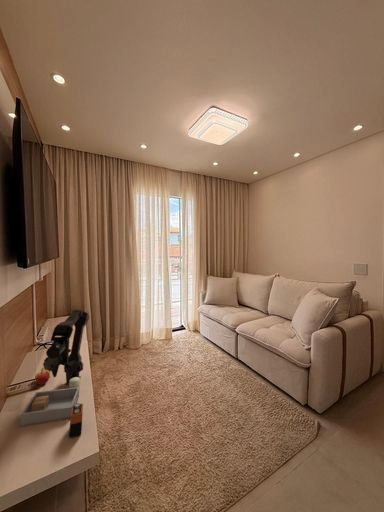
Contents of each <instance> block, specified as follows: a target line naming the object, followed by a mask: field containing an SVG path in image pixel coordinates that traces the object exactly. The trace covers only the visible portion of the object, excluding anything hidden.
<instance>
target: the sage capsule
mask: <svg viewBox="0 0 384 512" xmlns="http://www.w3.org/2000/svg"><path fill="white" fill-rule="evenodd" d="M80 385H81V378H79V377H74V378H71V379H70V381H69V384H68V388H76V387H81V386H80Z"/></svg>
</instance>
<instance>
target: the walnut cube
mask: <svg viewBox="0 0 384 512" xmlns="http://www.w3.org/2000/svg"><path fill="white" fill-rule="evenodd" d="M48 402H49V396H41V397H37V398H36V399H35V401H34V402H33V404H32V412H34V411H41V410H46V409H47V407H48Z"/></svg>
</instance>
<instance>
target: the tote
mask: <svg viewBox="0 0 384 512" xmlns="http://www.w3.org/2000/svg"><path fill="white" fill-rule="evenodd" d="M80 387H81V386H80ZM80 387H76V388H69V387H68V388H62V389H60V388H59V389H54V390H52V389H51V390H42V391H36V392H35V393H34V395H33V396H32V397H31V399H30V401H29V402H28V403H27V405H26V406H25V408H24V409H23V411H22V412H21V413H20V418H19V427H25V426H32V425H38V424H42V423H49V422H50V423H51V422H57V421H63V420H64V421H65V420H70V416H71V409H72V406H73V405H75V404H76V403H78V401H79V397H80ZM41 396H49V402H48V407H47V409H46V410H41V411H34V412H32V404H33V402H34V401H35V399H36V398H37V397H41Z"/></svg>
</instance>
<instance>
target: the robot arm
mask: <svg viewBox="0 0 384 512" xmlns="http://www.w3.org/2000/svg"><path fill="white" fill-rule="evenodd" d="M89 320H90V315H89V313H87V312H85V311H84V310H82V309H74V310H72V312H71V313H70V314H69V316H68V317H67V318H66V319H65V320H64V321H62V322H60V323H58V324H56V326H55V327H53V328H54V329H53V331H52V334H51V337H50V342H52V343H51V344H50V346H49V347H48V348H47V349H46V352H45V353H46V357H45V359H44V361H43V363H42V366H43V367H44V368H45V370H46V371H47V370H48V371H50V372H51V374H52V376H53V378H56V377H57V374H58V372H59V368H60V365H62V366H63V369H64V370H63V372H64V373H65V381H66V382H65V383H66V385H69V381H70V379H71V378H74V377H79V378H80V379H81V377H82V376H80V373H81V372H82V371H83V370H84V362H83V361H82V358H83V357H82V356H81V353H80V352H81V345H82V340H83V334H84V328H85V327H86V325H87V324H88V321H89ZM73 327H74V329H73ZM73 331H74V333H73ZM72 336H73V339H72V343H71V344H72V345H71V349H70V339H71V337H72Z"/></svg>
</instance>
